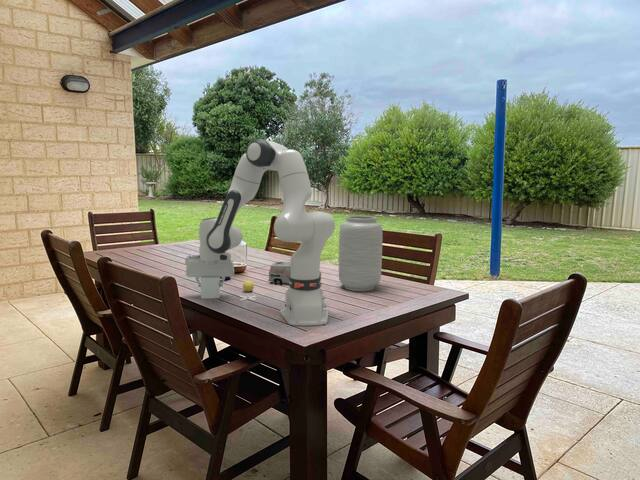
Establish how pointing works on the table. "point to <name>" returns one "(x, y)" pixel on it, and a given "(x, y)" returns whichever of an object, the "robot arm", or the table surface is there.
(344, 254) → the vase
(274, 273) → the toy car
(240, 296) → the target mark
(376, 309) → the table surface
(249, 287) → the ball
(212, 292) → the grey block
